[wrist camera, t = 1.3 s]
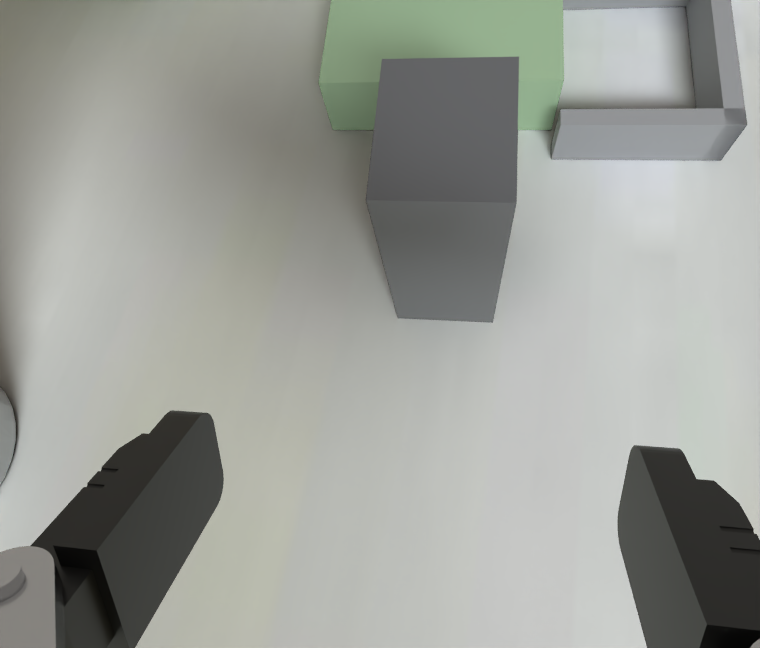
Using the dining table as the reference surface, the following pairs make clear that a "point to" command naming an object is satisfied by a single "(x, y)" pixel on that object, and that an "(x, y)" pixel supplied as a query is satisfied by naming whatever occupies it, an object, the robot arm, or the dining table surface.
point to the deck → (537, 71)
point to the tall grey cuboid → (444, 182)
